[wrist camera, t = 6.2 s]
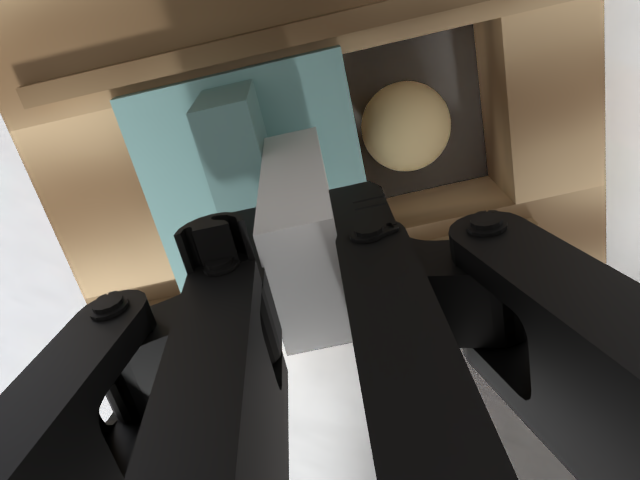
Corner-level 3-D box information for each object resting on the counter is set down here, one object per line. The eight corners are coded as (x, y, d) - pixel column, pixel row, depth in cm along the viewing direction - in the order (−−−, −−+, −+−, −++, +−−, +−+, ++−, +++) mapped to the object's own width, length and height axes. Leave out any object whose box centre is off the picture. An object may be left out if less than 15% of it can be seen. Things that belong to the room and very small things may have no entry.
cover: (378, 244, 20) (395, 297, 17) (183, 287, 20) (164, 346, 17) (338, 44, 17) (351, 62, 14) (114, 97, 17) (76, 126, 14)
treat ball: (444, 146, 22) (466, 172, 19) (364, 164, 22) (376, 192, 19) (433, 65, 21) (456, 80, 18) (349, 84, 21) (359, 102, 18)
